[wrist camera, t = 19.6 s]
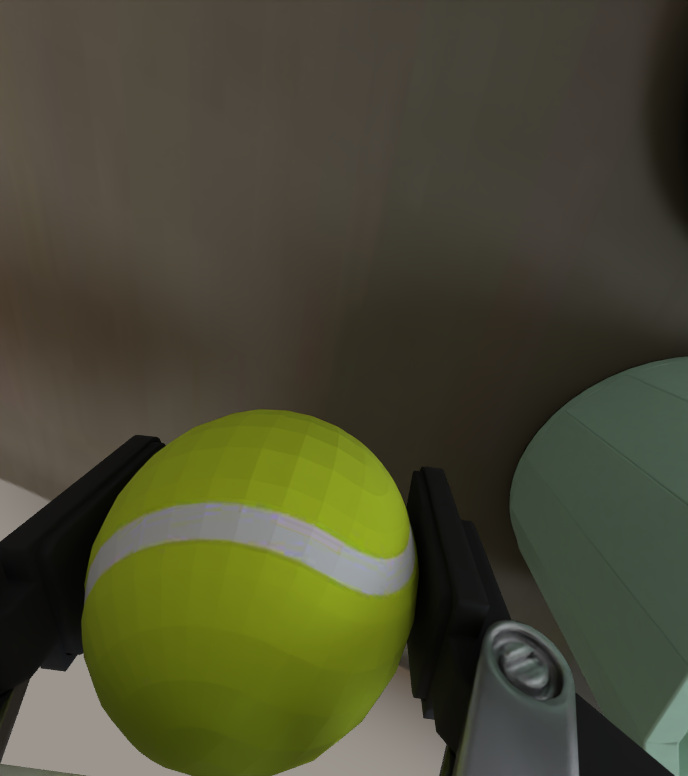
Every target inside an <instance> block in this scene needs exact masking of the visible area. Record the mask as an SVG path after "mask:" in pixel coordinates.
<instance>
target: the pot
mask: <svg viewBox="0 0 688 776" xmlns="http://www.w3.org/2000/svg"><path fill="white" fill-rule="evenodd" d="M509 508H510V518H511V523H512V527H513V530H514V534H515V536H516V538H517V543H518V548H519V550H520V552H521V554H522V556H523V558H524V560H525V562H526V564H527V566H528V567H529V569H530V571H531V573H532V575H533V577H534V579H535V581H536V583H537V585H538V587H539V589H540V591H541V593H542V595H543V597H544V599H545V601H546V603H547V605H548V607H549V609H550V611H551V613H552V615H553V616H554V618H555V620H556V622H557V624H558V626H559V628H560V630H561V632H562V634H563V636H564V638H565V640H566V642H567V644H568V646H569V648H570V650H571V652H572V654H573V656H574V658H575V660H576V662H577V664H578V666H579V667H580V669H581V671H582V673H583V675H584V677H585V679H586V681H587V683H588V685H589V687H590V689H591V691H592V693H593V695H594V697H595V699H596V701H597V703H598V705H599V707H600V709H601V711H602V713H603V715H604V717H605V718H607V719H608V720H609V721H610V722H611V723H613V724H614V725H615V726H616V727H617V728H619V729H620V730H621V731H622V732H623V733H625V734H626V735H627V736H628V737H629V738H631V739H632V740H633V741H634V742H635V743H637V744H638V745H639V746H640V747H641V748H643V749H644V750H645V751H646V752H647V753H649V754H650V755H651V756H652V757H653V758H654V759H656V760H657V761H658V762H659V763H660V764H662V765H663V766H664V767H665V768H666V769H668V770H669V771H670V772H671V773H672V774H674V775H675V776H688V357H676V358H671V359H666V360H660V361H655V362H651V363H647V364H644V365H641V366H637V367H634V368H631V369H628V370H626V371H623V372H621V373H618V374H616V375H613V376H611V377H609V378H607V379H605V380H603V381H601V382H599V383H597V384H595V385H594V386H592V387H590V388H588V389H586V390H585V391H584V392H582V393H581V394H579V395H578V396H576V397H575V398H573V399H572V400H570V401H569V402H568V403H567V404H565V405H564V406H563V407H562V408H561V409H560V410H558V411H557V412H556V413H555V414H554V415H553V416H552V417H551V418H550V419H549V420H548V421H547V422H546V423H545V424H544V425H543V426H542V427H541V428H540V430H539V431H538V432H537V434H536V435H535V436H534V438H533V439H532V440H531V442H530V443H529V445H528V446H527V448H526V450H525V452H524V453H523V455H522V457H521V459H520V461H519V463H518V466H517V469H516V471H515V474H514V477H513V481H512V486H511V490H510V504H509Z"/></svg>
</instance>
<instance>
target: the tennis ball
mask: <svg viewBox="0 0 688 776" xmlns="http://www.w3.org/2000/svg"><path fill="white" fill-rule="evenodd" d="M418 580H419V567H418V555H417V548H416V543H415V539H414V535H413V530H412V527H411V525H410V522H409V517H408V513H407V509H406V507H405V504H404V501H403V499H402V496H401V494H400V492H399V490H398V488H397V486H396V484H395V482H394V480H393V479H392V477H391V476H390V474H389V472H388V471H387V470H386V468H385V467H384V466H383V464H382V463H381V462H380V461H379V460H378V458H377V457H376V456H375V455H374V454H373V453H372V452H371V451H370V450H369V449H368V448H367V447H366V446H365V445H364V444H362V443H361V442H360V441H359V440H357V439H356V438H354V437H353V436H351V435H350V434H348V433H346V432H345V431H343V430H342V429H340V428H339V427H337V426H335V425H332V424H330V423H328V422H325V421H323V420H320V419H318V418H315V417H313V416H309V415H305V414H300V413H296V412H291V411H287V410H264V409H259V410H252V411H245V412H238V413H233V414H230V415H227V416H225V417H222V418H219V419H216V420H213V421H210V422H208V423H205V424H202V425H199V426H196V427H194V428H192V429H191V430H189V431H188V432H186V433H184V434H183V435H181V436H180V437H178V438H176V439H175V440H173V441H172V442H171V443H169V444H168V445H166V446H165V447H164V448H162V449H161V450H160V451H158V452H157V453H156V454H154V455H153V456H152V457H151V458H150V459H149V460H148V461H147V462H146V463H145V464H144V466H143V467H142V468H141V469H140V470H139V471H138V472H137V473H136V474H135V475H134V476H133V478H132V479H131V480H130V481H129V483H128V484H127V485H126V486H125V487H124V489H123V490H122V491H121V492H120V494H119V495H118V496H117V498H116V500H115V502H114V504H113V506H112V507H111V509H110V511H109V513H108V515H107V517H106V519H105V521H104V523H103V525H102V527H101V529H100V531H99V533H98V535H97V537H96V539H95V541H94V543H93V546H92V550H91V554H90V559H89V563H88V568H87V573H86V579H85V584H84V585H85V600H84V609H83V614H82V619H81V626H82V644H83V653H84V658H85V662H86V664H87V667H88V670H89V673H90V676H91V679H92V682H93V685H94V688H95V690H96V693H97V696H98V698H99V701H100V703H101V706H102V707H103V709H104V710H105V711H106V713H107V714H108V716H109V717H110V718H111V720H112V721H113V722H114V723H115V725H116V726H117V727H118V728H119V729H120V731H121V732H122V733H123V734H124V736H126V738H127V739H128V740H129V741H130V743H132V745H133V746H134V747H135V748H136V749H137V750H138V751H139V752H141V753H142V754H143V755H145V756H146V757H148V758H149V759H150V760H152V761H154V762H156V763H157V764H159V765H161V766H163V767H165V768H168V769H171V770H175V771H178V772H182V773H185V774H188V775H191V776H272V775H275V774H278V773H281V772H283V771H286V770H289V769H292V768H295V767H297V766H300V765H303V764H305V763H308V762H311V761H313V760H315V759H316V758H317V757H319V756H320V755H321V754H322V753H324V752H325V751H326V750H327V749H329V748H330V747H331V746H333V745H334V744H335V743H336V742H338V741H339V740H340V739H341V738H343V737H344V736H345V735H346V734H347V733H349V732H350V731H351V730H352V729H353V728H354V727H356V726H357V725H358V724H359V723H361V722H362V720H363V719H364V718H365V716H366V715H367V714H368V712H369V711H370V709H371V708H372V706H373V705H374V703H375V702H376V701H377V699H378V698H379V697H380V695H381V693H382V692H383V690H384V689H385V688H386V686H387V685H388V683H389V682H390V680H391V679H392V677H393V676H394V674H395V673H396V670H397V667H398V665H399V662H400V659H401V656H402V654H403V651H404V648H405V645H406V642H407V640H408V637H409V634H410V631H411V628H412V625H413V623H414V616H415V608H416V599H417V589H418Z"/></svg>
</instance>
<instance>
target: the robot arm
mask: <svg viewBox="0 0 688 776" xmlns="http://www.w3.org/2000/svg"><path fill="white" fill-rule="evenodd" d="M165 446H166V445H165V444H164V443H161V441H160V439H159V438H158V437H152V436H143V435H135V436H133V437H132V438H131V439H129V440H128V441H127V442H126V443H124V444H123V445H122V446H120V447H119V448H118V449H117V450H115V451H114V452H113V453H112V454H110V455H109V456H108V457H107V458H105V459H104V460H103V461H102V462H100V463H99V464H98V465H96V466H95V467H94V468H93V469H91V470H90V471H89V472H88V473H86V474H85V475H84V476H83V477H81V478H80V479H79V480H78V481H76V482H75V483H74V484H73V485H71V486H70V487H69V488H67V489H66V490H65V491H64V492H62V493H61V494H60V495H59V496H57V497H56V498H55V499H54V500H52V501H51V502H50V503H49V504H47V505H46V506H45V507H44V508H42V509H41V510H40V511H39V512H37V513H36V514H35V515H34V516H32V517H31V518H30V519H28V520H27V521H26V522H25V523H23V524H22V525H21V526H19V527H18V528H17V529H16V530H14V531H13V532H12V533H11V534H9V535H8V536H7V537H6V538H4V539H3V540H2V541H1V542H0V763H1V760H2V757H3V754H4V751H5V748H6V746H7V743H8V740H9V737H10V734H11V731H12V728H13V726H14V723H15V720H16V717H17V715H18V712H19V709H20V706H21V703H22V700H23V697H24V695H25V692H26V689H27V686H28V683H29V680H30V678H31V677H32V676H33V674H34V673H35V672H36V671H37V669H38V668H39V667H41V668H43V669H51V670H58V671H66V670H67V669H68V667H69V666H70V664H71V663H72V662H73V660H74V659H75V657H76V656H77V655H80V654H83V644H82V626H81V619H82V614H83V609H84V600H85V585H84V584H85V579H86V573H87V568H88V563H89V559H90V554H91V550H92V546H93V543H94V541H95V539H96V537H97V535H98V533H99V531H100V529H101V527H102V525H103V523H104V521H105V519H106V517H107V515H108V513H109V511H110V509H111V507H112V506H113V504H114V502H115V500H116V498H117V496H118V495H119V494H120V492H121V491H122V490H123V489H124V487H125V486H126V485H127V484H128V483H129V481H130V480H131V479H132V478H133V476H134V475H135V474H136V473H137V472H138V471H139V470H140V469H141V468H142V467H143V466H144V464H145V463H146V462H147V461H148V460H149V459H150V458H151V457H152V456H153V455H154V454H156V453H157V452H158V451H160V450H161V449H162V448H164V447H165ZM406 509H407V513H408V517H409V522H410V525H411V527H412V530H413V535H414V539H415V543H416V548H417V555H418V567H419V580H418V589H417V599H416V608H415V616H414V623H413V625H412V628H411V631H410V634H409V637H408V640H407V646H408V656H409V667H410V676H411V686H412V694H413V697H414V698H420V699H421V701H422V710H423V718H426V719H434V720H435V726H436V732H437V733H438V734H439V735H440V737H441V738H442V739H443V740H444V741H445V743H446V748H445V753H444V757H443V762H442V766H441V770H440V775H439V776H675V775H674V774H672V773H671V772H670V771H669V770H668V769H666V768H665V767H664V766H663V765H662V764H660V763H659V762H658V761H657V760H656V759H654V758H653V757H652V756H651V755H650V754H649V753H647V752H646V751H645V750H644V749H643V748H641V747H640V746H639V745H638V744H637V743H635V742H634V741H633V740H632V739H631V738H629V737H628V736H627V735H626V734H625V733H623V732H622V731H621V730H620V729H619V728H617V727H616V726H615V725H614V724H613V723H611V722H610V721H609V720H608V719H607V718H605V717H604V716H603V715H602V714H601V713H599V712H598V711H597V710H596V709H595V708H593V707H592V706H591V705H590V704H589V703H587V702H586V701H585V700H584V699H583V698H581V697H580V696H579V695H578V694H577V693H576V692H575V685H574V680H573V676H572V672H571V670H570V668H569V666H568V664H567V662H566V660H565V658H564V657H563V655H562V654H561V653H560V651H559V650H558V649H557V648H556V646H555V645H554V644H553V643H552V642H551V641H550V640H549V639H547V638H546V637H545V636H544V635H543V634H542V633H540V632H539V631H537V630H535V629H534V628H532V627H531V626H529V625H526V624H524V623H521V622H518V621H514V620H511V618H510V615H509V613H508V610H507V607H506V605H505V602H504V600H503V597H502V595H501V592H500V589H499V587H498V584H497V582H496V579H495V576H494V574H493V571H492V569H491V566H490V563H489V561H488V558H487V556H486V553H485V550H484V548H483V545H482V543H481V540H480V538H479V535H478V532H477V530H476V527H475V526H474V524H473V523H472V522H471V521H464V520H460V517H459V514H458V511H457V508H456V505H455V502H454V499H453V496H452V493H451V490H450V487H449V484H448V482H447V479H446V476H445V473H444V470H443V469H442V468H433V467H424V466H422V467H421V469H420V471H414V472H413V476H412V481H411V486H410V491H409V496H408V502H407V507H406ZM0 776H84V775H77V774H70V773H62V772H55V771H48V770H41V769H33V768H25V767H19V766H11V765H4V764H0Z"/></svg>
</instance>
